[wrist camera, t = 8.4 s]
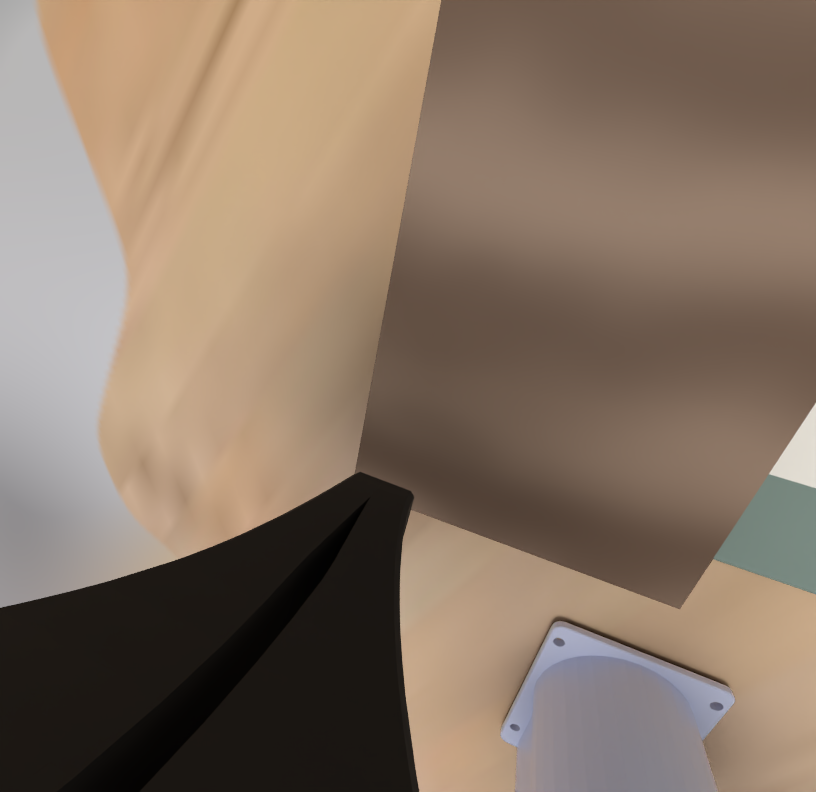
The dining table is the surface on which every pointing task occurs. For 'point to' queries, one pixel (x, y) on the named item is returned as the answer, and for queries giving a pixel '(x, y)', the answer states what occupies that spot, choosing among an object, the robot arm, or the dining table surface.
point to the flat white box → (800, 454)
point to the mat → (776, 534)
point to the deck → (603, 279)
